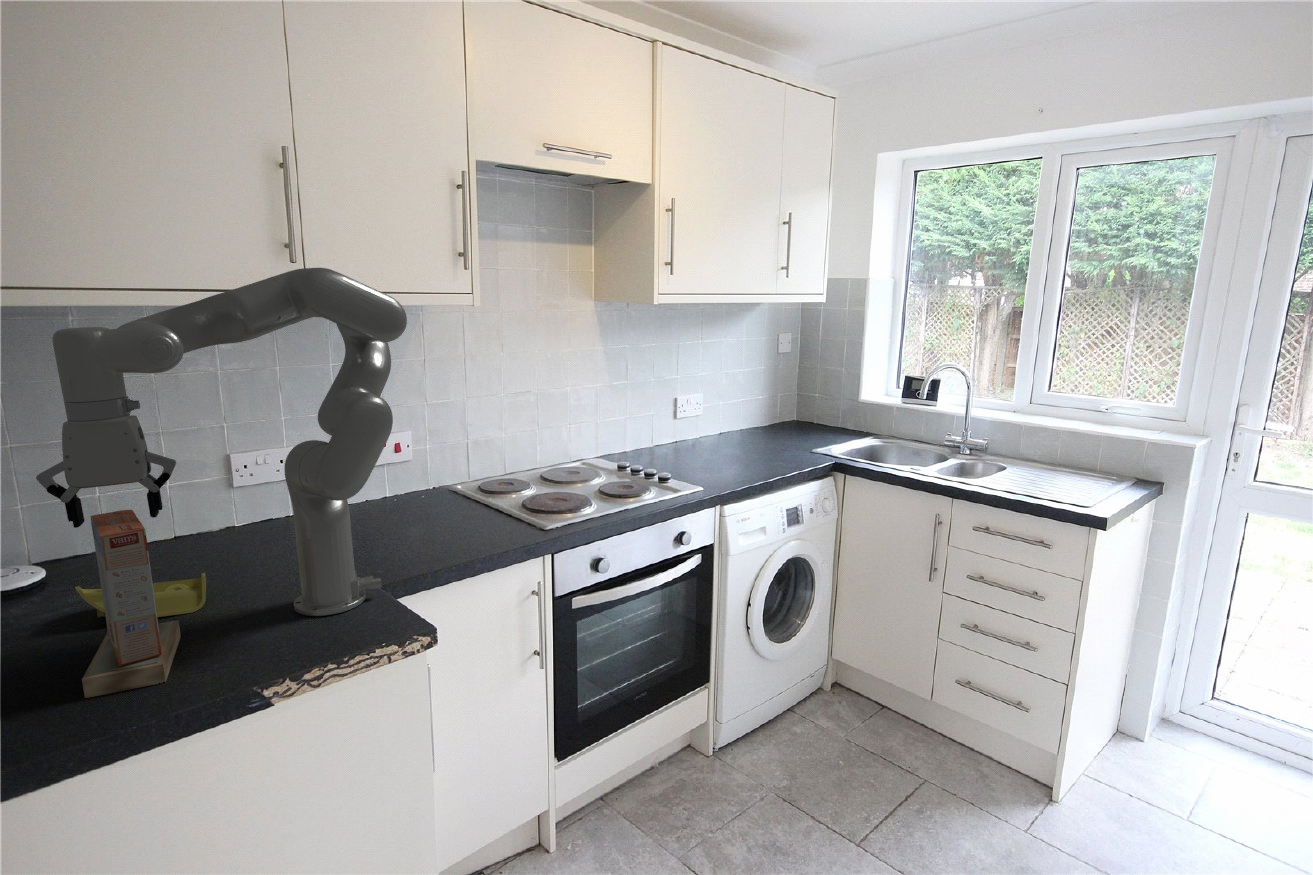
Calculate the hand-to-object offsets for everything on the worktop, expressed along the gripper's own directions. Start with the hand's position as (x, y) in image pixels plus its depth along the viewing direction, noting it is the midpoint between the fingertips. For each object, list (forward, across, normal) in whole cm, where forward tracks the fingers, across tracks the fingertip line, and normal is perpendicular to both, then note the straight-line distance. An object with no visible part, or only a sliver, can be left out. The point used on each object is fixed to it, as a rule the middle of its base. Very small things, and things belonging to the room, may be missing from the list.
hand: (117, 520), depth 113 cm
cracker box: (+21, +1, 0) cm, 21 cm away
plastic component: (+25, +3, -24) cm, 35 cm away
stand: (+24, +1, 0) cm, 24 cm away
